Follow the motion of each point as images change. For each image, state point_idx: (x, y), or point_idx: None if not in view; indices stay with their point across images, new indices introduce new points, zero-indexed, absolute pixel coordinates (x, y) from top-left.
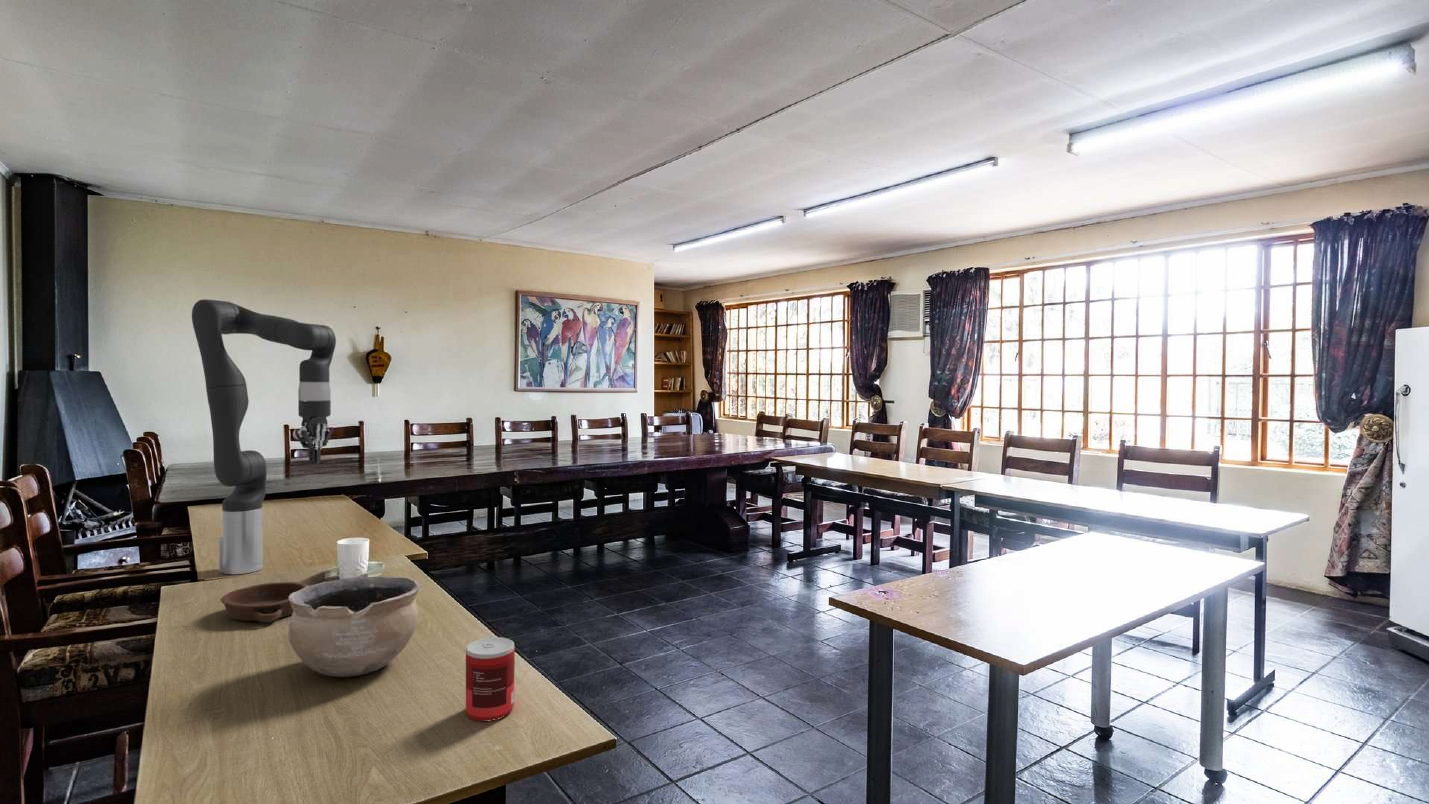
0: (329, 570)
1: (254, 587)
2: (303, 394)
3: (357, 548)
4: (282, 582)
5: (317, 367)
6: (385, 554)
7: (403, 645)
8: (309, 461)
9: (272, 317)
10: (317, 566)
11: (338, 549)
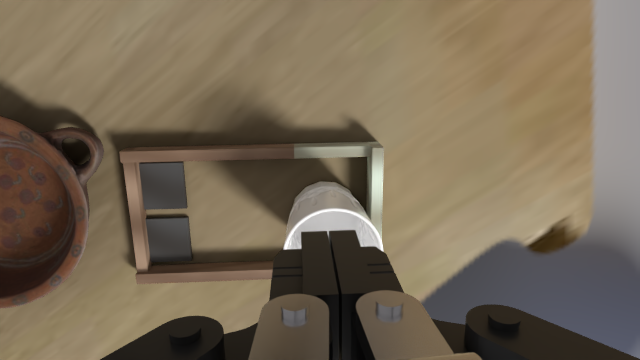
0: (314, 157)
1: (19, 140)
2: None
3: None
4: (75, 187)
5: None
6: (572, 157)
7: None
8: (280, 251)
9: None
10: (421, 39)
11: (290, 224)
